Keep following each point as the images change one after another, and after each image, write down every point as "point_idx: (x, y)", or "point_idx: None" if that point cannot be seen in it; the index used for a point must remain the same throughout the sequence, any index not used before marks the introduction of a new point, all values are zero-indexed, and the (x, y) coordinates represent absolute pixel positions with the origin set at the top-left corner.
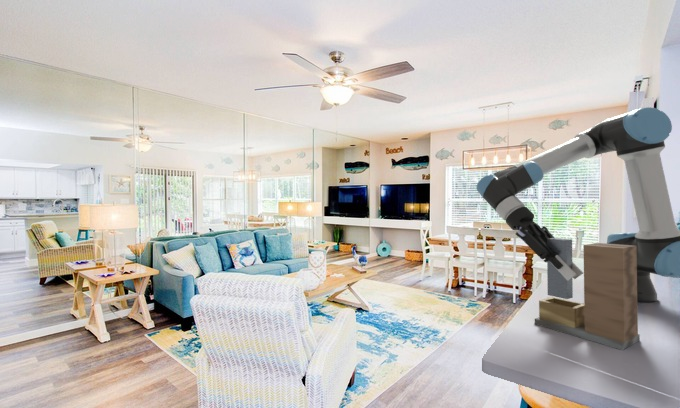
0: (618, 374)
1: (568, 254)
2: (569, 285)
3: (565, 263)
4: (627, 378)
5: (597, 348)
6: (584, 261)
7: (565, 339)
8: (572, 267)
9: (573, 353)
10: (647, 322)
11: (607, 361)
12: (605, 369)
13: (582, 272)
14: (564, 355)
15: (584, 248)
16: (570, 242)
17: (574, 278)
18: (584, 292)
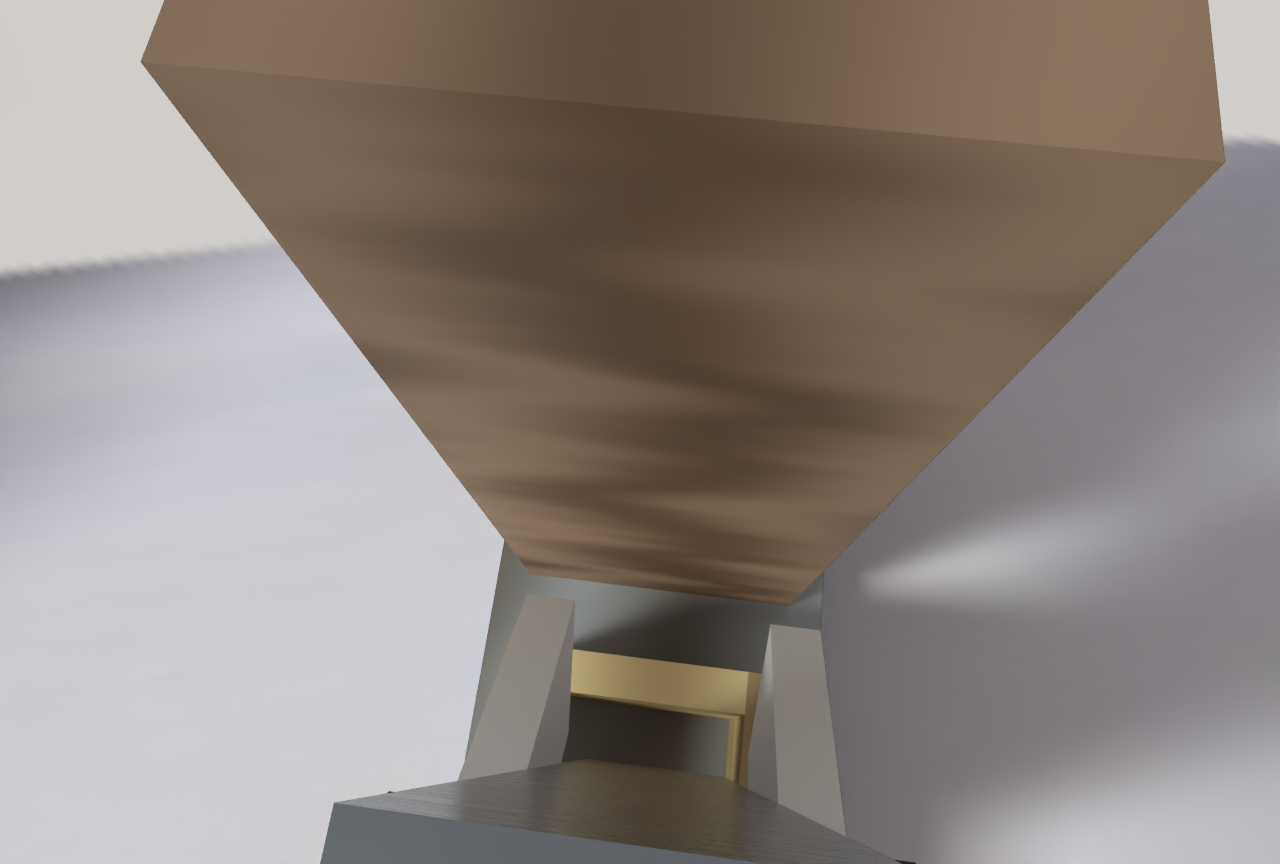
0: (1211, 331)
1: (711, 806)
2: (663, 773)
3: None
4: (1218, 293)
5: (913, 501)
6: (1003, 372)
7: (928, 706)
8: (542, 763)
9: (1146, 578)
10: (24, 401)
11: (1081, 408)
12: (1210, 388)
13: (539, 605)
14: (1236, 607)
15: (1165, 202)
16: (539, 816)
17: (568, 730)
18: (861, 531)
